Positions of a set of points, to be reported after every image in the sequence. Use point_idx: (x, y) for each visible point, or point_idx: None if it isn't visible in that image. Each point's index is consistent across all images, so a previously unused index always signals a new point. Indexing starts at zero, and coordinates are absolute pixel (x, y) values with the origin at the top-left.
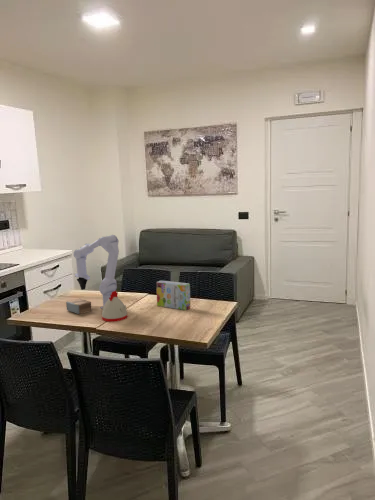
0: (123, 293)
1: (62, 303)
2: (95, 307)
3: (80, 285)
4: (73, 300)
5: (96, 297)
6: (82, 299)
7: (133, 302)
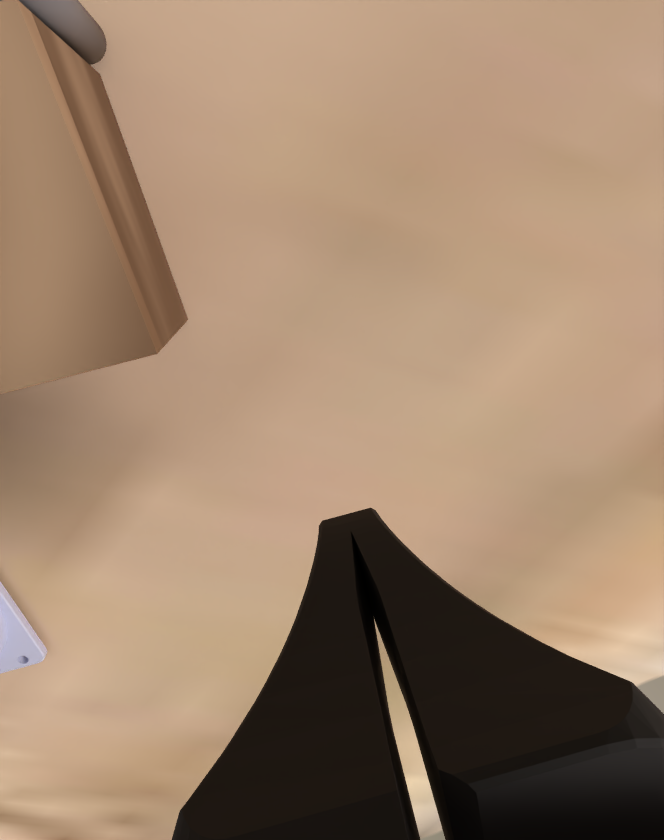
0: (424, 800)
1: (593, 120)
2: (38, 483)
3: (381, 573)
4: (61, 168)
5: (493, 593)
6: (44, 373)
7: (37, 817)
